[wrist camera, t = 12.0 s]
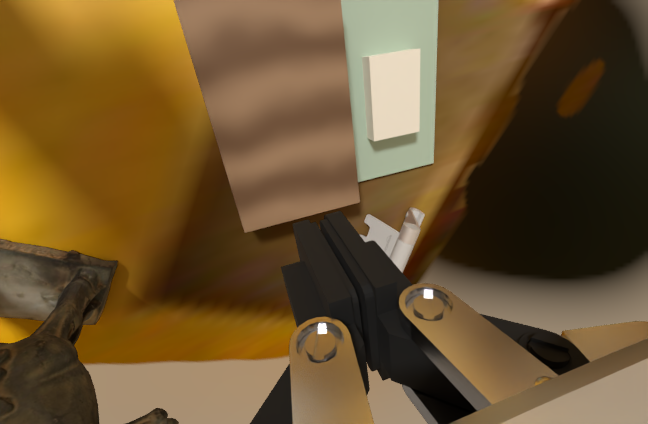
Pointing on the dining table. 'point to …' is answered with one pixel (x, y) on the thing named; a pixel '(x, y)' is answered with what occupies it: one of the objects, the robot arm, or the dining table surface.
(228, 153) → the deck
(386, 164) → the mat
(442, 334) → the robot arm
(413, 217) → the portable electronic device stand
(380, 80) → the cream rectangular block
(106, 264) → the statue
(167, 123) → the dining table surface
